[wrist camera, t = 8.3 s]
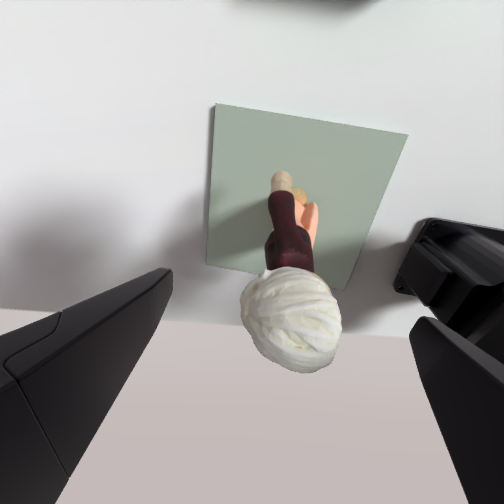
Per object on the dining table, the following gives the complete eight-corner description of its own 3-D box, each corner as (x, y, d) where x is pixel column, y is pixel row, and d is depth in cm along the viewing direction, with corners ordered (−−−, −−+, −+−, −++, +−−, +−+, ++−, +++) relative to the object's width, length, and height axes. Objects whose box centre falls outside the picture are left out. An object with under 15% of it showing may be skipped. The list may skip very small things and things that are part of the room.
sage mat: (404, 134, 15) (408, 134, 15) (342, 286, 21) (344, 290, 21) (217, 103, 16) (215, 103, 15) (207, 260, 22) (205, 264, 21)
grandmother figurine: (326, 249, 19) (384, 427, 8) (278, 260, 20) (271, 433, 9) (303, 147, 16) (346, 210, 5) (248, 166, 17) (177, 254, 6)
